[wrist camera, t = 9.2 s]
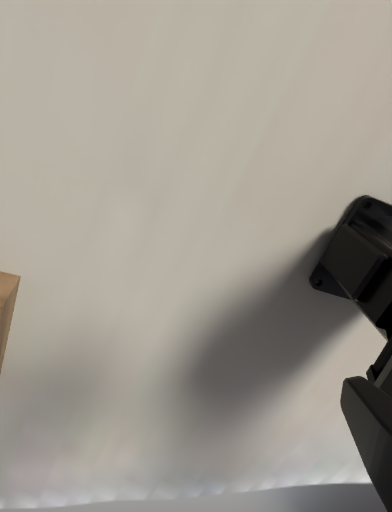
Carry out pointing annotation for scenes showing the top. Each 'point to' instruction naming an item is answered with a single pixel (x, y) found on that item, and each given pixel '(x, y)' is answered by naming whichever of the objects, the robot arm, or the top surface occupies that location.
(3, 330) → the walnut block
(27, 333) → the top surface
